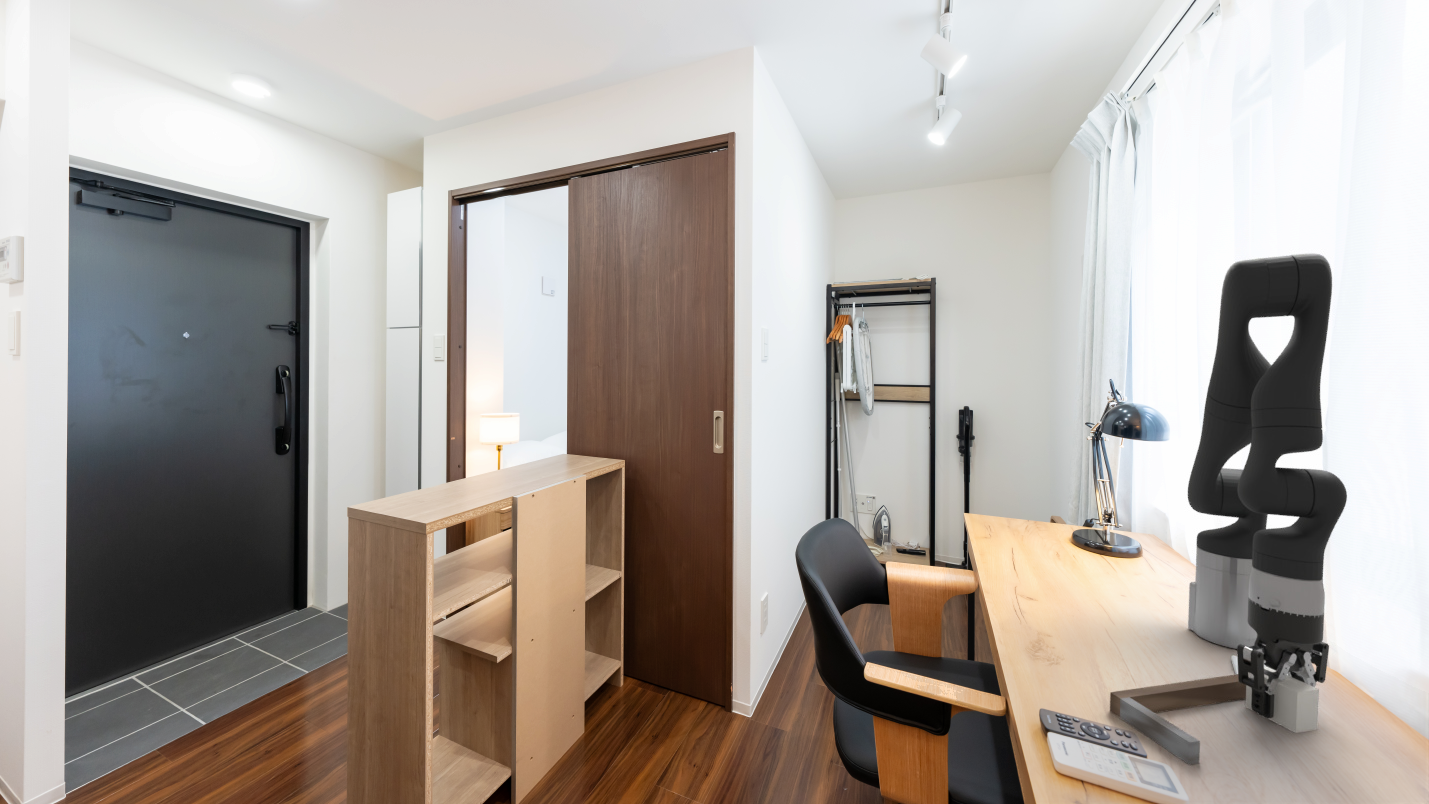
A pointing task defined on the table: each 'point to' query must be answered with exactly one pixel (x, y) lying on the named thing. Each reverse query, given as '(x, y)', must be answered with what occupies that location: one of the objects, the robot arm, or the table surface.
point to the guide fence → (1147, 701)
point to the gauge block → (1292, 704)
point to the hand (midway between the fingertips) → (1280, 711)
